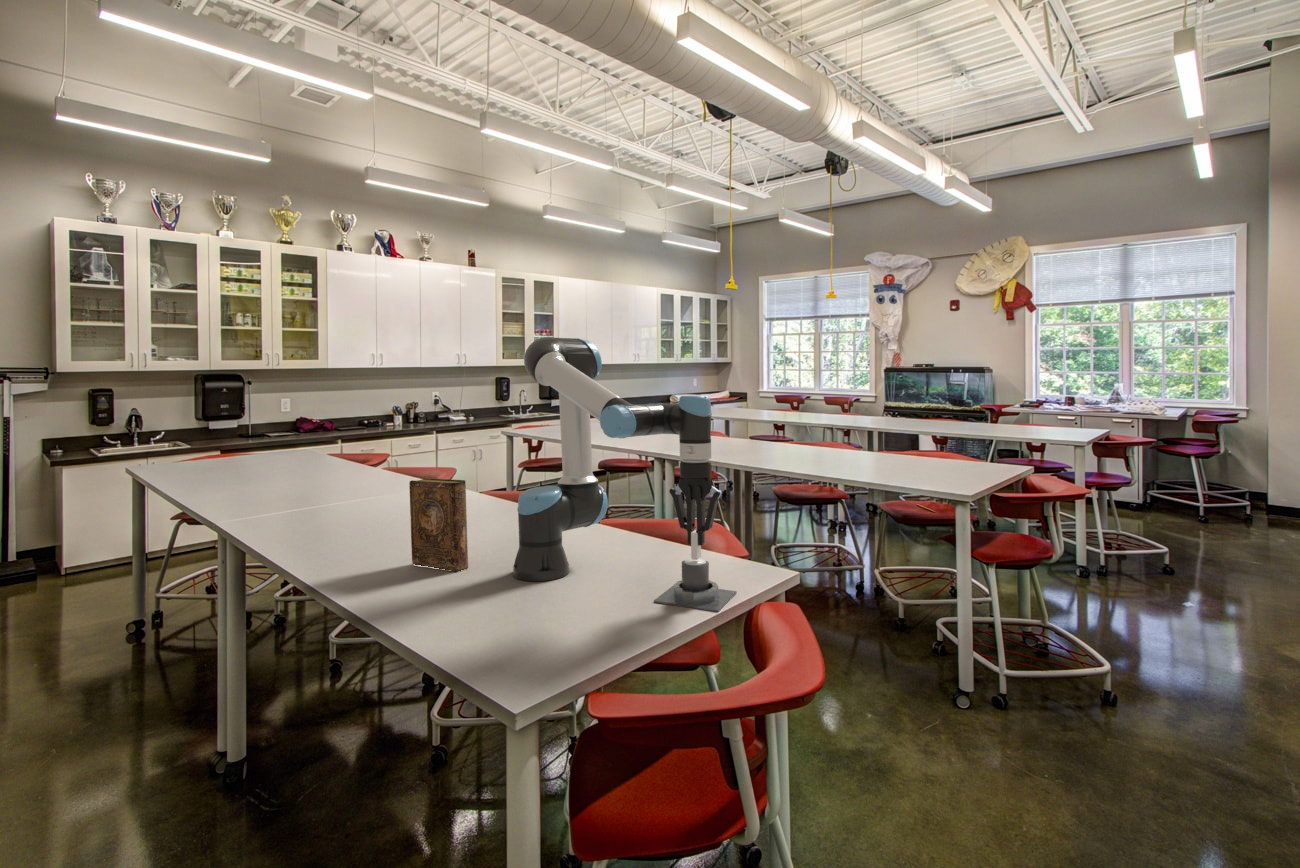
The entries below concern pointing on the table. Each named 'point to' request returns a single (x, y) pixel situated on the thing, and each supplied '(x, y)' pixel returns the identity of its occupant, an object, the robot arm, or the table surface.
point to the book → (439, 523)
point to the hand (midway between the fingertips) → (696, 558)
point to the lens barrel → (695, 575)
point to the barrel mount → (696, 597)
